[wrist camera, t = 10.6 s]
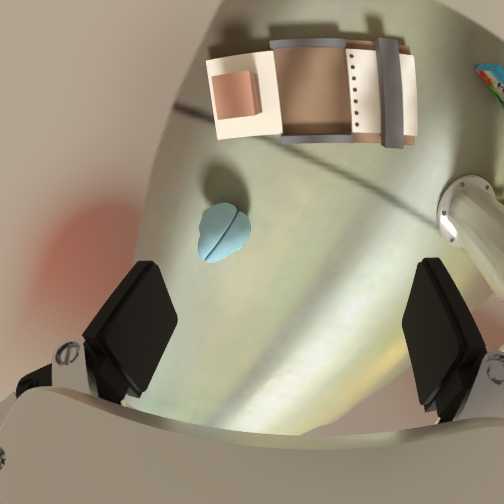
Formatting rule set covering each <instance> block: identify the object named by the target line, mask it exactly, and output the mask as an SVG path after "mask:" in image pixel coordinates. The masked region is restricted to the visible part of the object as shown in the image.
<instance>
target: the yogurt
mask: <svg viewBox="0 0 504 504" xmlns="http://www.w3.org/2000/svg"><path fill="white" fill-rule="evenodd" d="M475 72H476V73H477V74H478V75H479V76H480V78H481V79H482V80H483V81H484V83H485V84H486V85H487V87H488V88H489V89H490V91H491V92H492V93H493V95H494V96H495V97H496V99H497V100H498V102H499V103H500V105H501V106H502V108H503V109H504V68H503V67H502V66H501V65H500V64H478V66H477V67H476V69H475Z"/></svg>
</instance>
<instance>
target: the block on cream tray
mask: <svg viewBox="0 0 504 504" xmlns="http://www.w3.org/2000/svg"><path fill="white" fill-rule="evenodd" d="M206 65H207V72H208V79H209V85H210V92H211V99H212V106H213V112H214V119H215V125H216V132H217V138H218V140H220V139H228V138H237V137H247V136H257V135H270V134H283V126H282V116H281V107H280V98H279V89H278V81H277V73H276V65H275V57H274V51H264V52H256V53H248V54H241V55H234V56H228V57H223V58H217V59H212V60H207V61H206Z"/></svg>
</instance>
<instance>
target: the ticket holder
mask: <svg viewBox="0 0 504 504" xmlns="http://www.w3.org/2000/svg"><path fill="white" fill-rule="evenodd" d="M269 42H270V48H271V50H272V51H274V57H275V65H276V73H277V81H278V89H279V98H280V107H281V116H282V126H283V134H282V135H281V143H282V144H300V143H354V142H357V143H381V145H382V146H384V147H385V148H399V149H403V145H414V139H415V136H417V90H416V76H415V65H414V56H412V55H411V54H410V46H404V45H398V41H397V40H395V39H388V38H380V37H378V38H377V39H375V40H374V41H362V40H345V39H341V38H304V39H285V40H273V41H269Z"/></svg>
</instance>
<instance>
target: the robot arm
mask: <svg viewBox="0 0 504 504" xmlns="http://www.w3.org/2000/svg"><path fill="white" fill-rule="evenodd" d="M437 222H438V227H439V230H440V233H441V234H442V236H443V237H444V239H445V240H446V241H447V242H448V243H449V244H451V245H453V246H455V247H459V248H463V249H464V250H465V251H466V253H467V254H468V255H469V257H470V258H471V259H472V261H473V262H474V264H475V265H476V266H477V268H478V269H479V271H480V272H481V274H482V275H483V277H484V278H485V279H486V281H487V283H488V284H489V286H490V287H491V289H492V290H493V292H494V293H495V295H496V296H497V298H498V299H499V301H500V302H501V303H502V304H503V305H504V205H502V204H501V203H500V202H499V201H497V200H496V196H495V193H494V190H493V188H492V187H491V185H490V184H489V183H488V182H487V181H486V180H485V179H483V178H482V177H479V176H477V175H465V176H463V177H460V178H458V179H457V180H455V181H454V182H453V183H452V184H451V185H450V186H449V187H448V188H447V189H446V191H445V192H444V194H443V196H442V198H441V201H440V203H439V207H438V212H437ZM177 322H178V318H177V314H176V312H175V309H174V306H173V304H172V301H171V299H170V296H169V293H168V291H167V288H166V285H165V283H164V280H163V277H162V274H161V272H160V269H159V266H158V265H155V263H154V262H153V261H138V262H137V263H136V264H135V265H134V266H133V268H132V269H131V270H130V271H129V273H128V274H127V275H126V277H125V278H124V279H123V280H122V282H121V283H120V284H119V286H118V287H117V288H116V289H115V291H114V292H113V293H112V295H111V296H110V297H109V298H108V300H107V301H106V303H105V304H104V305H103V306H102V308H101V309H100V311H99V312H98V313H97V315H96V316H95V318H94V319H93V320H92V322H91V323H90V324H89V326H88V327H87V329H86V330H85V331H84V333H83V335H82V336H83V337H84V339H85V340H86V341H85V342H84V343H82V342H81V340H79V339H76V338H74V339H73V338H72V339H68V340H66V341H64V342H62V343H61V344H60V345H59V346H58V347H57V348H56V349H55V352H54V353H53V357H52V363H51V364H49V365H47V366H44V367H42V368H40V369H38V370H36V371H34V372H32V373H29V374H27V375H26V376H24V377H23V378H21V380H20V381H19V383H18V385H17V388H16V393H15V392H13V393H12V394H10V395H9V396H8V397H7V398H6V399H5V400H3V401H2V402H1V403H0V504H504V344H503V345H502V346H501V347H500V348H499V350H493V351H490V352H488V353H487V351H486V348H485V346H486V345H485V343H484V341H483V339H482V336H481V334H480V332H479V330H478V327H477V326H476V323H475V321H474V319H473V317H472V315H471V313H470V311H469V309H468V307H467V305H466V303H465V301H464V299H463V298H462V296H461V294H460V292H459V290H458V288H457V287H456V285H455V283H454V281H453V280H452V278H451V276H450V274H449V273H448V271H447V269H446V268H445V266H444V265H443V263H442V261H441V260H440V259H439V258H424V259H423V260H422V262H419V263H418V265H417V269H416V273H415V277H414V281H413V284H412V288H411V292H410V295H409V299H408V302H407V305H406V309H405V312H404V315H403V318H402V328H403V332H404V335H405V339H406V343H407V347H408V351H409V355H410V359H411V363H412V368H413V372H414V377H415V382H416V387H417V392H418V396H419V402H420V404H421V405H424V409H425V412H430V411H435V410H437V414H438V419H437V421H436V422H435V424H434V425H431V426H425V427H419V428H413V429H406V430H399V431H391V432H382V433H373V434H361V435H345V436H290V435H272V434H260V433H249V432H241V431H233V430H226V429H219V428H213V427H207V426H202V425H196V424H191V423H186V422H182V421H177V420H173V419H168V418H164V417H160V416H156V415H153V414H149V413H145V412H142V411H138V410H135V409H131V408H128V407H127V405H126V402H125V398H124V397H125V395H126V393H127V394H128V395H129V396H133V397H136V398H140V396H141V394H142V392H145V391H146V389H147V388H148V385H149V383H150V381H151V379H152V376H153V374H154V372H155V370H156V368H157V366H158V363H159V361H160V359H161V357H162V355H163V353H164V351H165V348H166V346H167V344H168V342H169V340H170V338H171V336H172V334H173V332H174V329H175V327H176V325H177Z"/></svg>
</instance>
